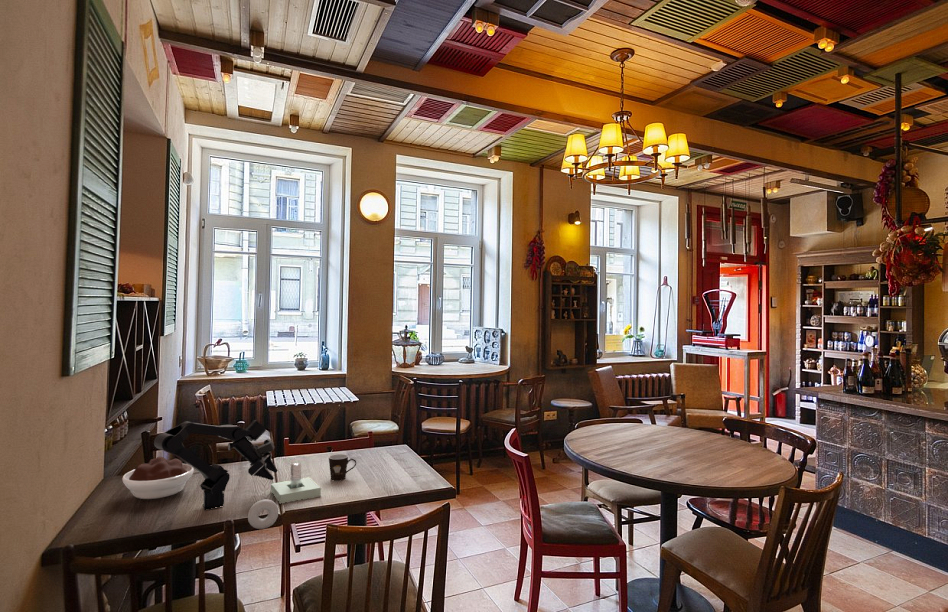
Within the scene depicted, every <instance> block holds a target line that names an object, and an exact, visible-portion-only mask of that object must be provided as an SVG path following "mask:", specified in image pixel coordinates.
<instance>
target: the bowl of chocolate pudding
mask: <svg viewBox="0 0 948 612" xmlns="http://www.w3.org/2000/svg"><path fill="white" fill-rule="evenodd" d="M194 471H195V469H194V468H193V467H191V466H190V465H188V464H187V463H183V460H181V459H180V458H173V459H171V460H168V459H166V458H165V457H163V456H157V457H155V458H151V459H150V460H149V461H148V463H145V462H143V463H142V464H141V463H140V464H139V465H138V466H137V467H136V468H135V469H132V470H130V471H128V472H126V473H125V474H124V475H123V476H122V483H123V485H124V486H125V487H126V488H127V489H128V490H129V491H130V493H131V494H132V495H133V497H134V498H137V499H142V500H152V499H153V500H154V499H162V498H165V497H166V498H167V497H169V496H173V495H176V494H178V493H180V491H182V490H183V489H184V488H185V486H186V484H187V482H188V481H189V480H190V479H191V477H192V476H193V474H194Z"/></svg>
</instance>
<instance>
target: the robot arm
mask: <svg viewBox="0 0 948 612" xmlns="http://www.w3.org/2000/svg"><path fill="white" fill-rule="evenodd" d="M265 432H267V428H266V427H265V426H264V425H262V424H261V423H260V422H259V421H258V420H255V419H253V420H252V421H251V422H250V424H249V425H248V426H247V427H246V428H243V427H242V426H240V425H239V426H238V425H233V424H221V425H213V424H212V425H211V424H204V423H199V422H192V421H183V422H181V423H180V424H178V425H176V426H174V427H172V428H170V429H168V430H166V431H165V432H162V433H159V434H158V435H156V437H155V438H154V440H153V441H154V442H153V445H154V447H155V448H156V449H158V450H161V451H162V452H166V453H169V454H170V455H173V456H175V457H177V459H179V460H181V461H182V462H184V464H188V465H190V466H191V467H193V468H194V470H195V471H198V472H199V473H200V474H201V475H202V476H203V481H202V483H200V485H199V486H200V489H201V490H203V504H202V508H203V507H204V508H203V510H204V511H207V510H206V509H209V510H212V509H211V508H215V507H220V506H223V507H224V504H225V490H226V488H227V485H228V483H229V481H230V476H231V475H230V473H229V470H228V469H225V468H224V467H223V466H222V465H220V464H218V463H217V464H216V463H213V462H212V463H211V464H210V463H208V462H206V461H205V460H204V459H202V458H201V457H199V456H198V455H197V454H195V453H194V452H192V451H191V450H189V449H188V448H187V447H185V445H184V443H183V442H184V441H185V440H186V439H187V438H188V437H189V436H190V435H191V434H195V435H196V434H197V435H204V436H215V437H219V438H222V439H224V440H225V439H226V440H229V441H232V442H228V444H227V446H228V448H227V451H231V450H232V449H235V450H236V451H237V452H238V453H239V454H240V455H241V456H242V459H243V460H247V461H248V462H249V468H248V469H247V471H248V472H247V473H248V474H249V475H250V476H254V477H260V478H263V479H266V480H270V481H273V480H274V479H275V477H274V476H273V474H271V472H273V473H278V469H277V467H276V465H275V464H274V462H273V460H272V455H273V453H272V452H273V451H274V449H275V448H276V446H275V443H274V441H273V440H270V439H269V438H267V439H264V442H263V443H262V445H261V444H260V445H258V444H253V442H256V441H257V440H258V439H259V438H260V437H261V436H262V435H264V434H265ZM270 471H271V472H270ZM220 508H221V507H220ZM215 509H216V508H215Z"/></svg>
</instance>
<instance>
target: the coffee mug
mask: <svg viewBox="0 0 948 612" xmlns="http://www.w3.org/2000/svg"><path fill="white" fill-rule="evenodd" d="M351 461H353V462H354V465H353V466H352V467H350V468H349V469H347V468H348V464H349V462H351ZM328 464H329V475H330V480H331V481H332V480H334V481H333V482H341V481H344V480H345V479H346V476H347V473H348V472H349V471H352V470H353V469H354V468H355V467H356V466H357V460H356V459H354V458H350V459H349V456H348V454H344V453H343V454H342V453H340V454H339V453H336V454H331V455H329V456H328ZM340 480H341V481H340Z"/></svg>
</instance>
